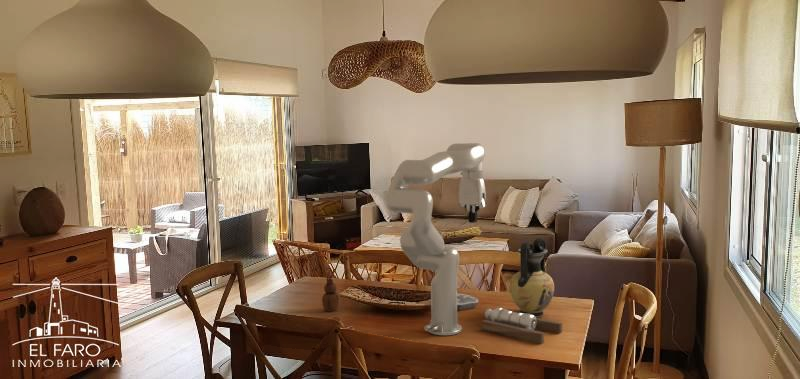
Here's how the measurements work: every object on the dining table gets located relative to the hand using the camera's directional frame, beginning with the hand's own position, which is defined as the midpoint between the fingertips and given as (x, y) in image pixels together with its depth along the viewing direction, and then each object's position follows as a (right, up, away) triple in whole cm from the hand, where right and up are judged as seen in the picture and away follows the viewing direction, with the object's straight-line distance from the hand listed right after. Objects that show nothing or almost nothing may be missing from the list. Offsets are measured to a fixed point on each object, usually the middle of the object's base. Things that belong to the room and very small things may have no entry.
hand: (472, 222), depth 251 cm
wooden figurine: (-57, -37, +14) cm, 69 cm away
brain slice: (-6, -36, +18) cm, 41 cm away
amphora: (+24, -37, +3) cm, 44 cm away
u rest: (+16, -39, -17) cm, 45 cm away
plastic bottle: (+20, -35, -21) cm, 46 cm away
